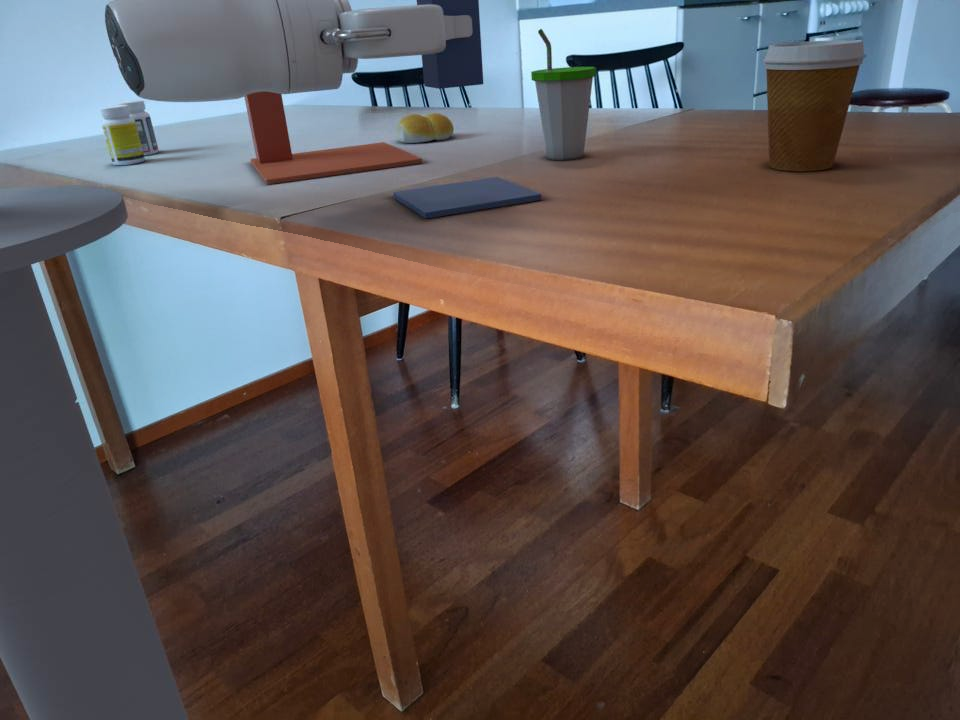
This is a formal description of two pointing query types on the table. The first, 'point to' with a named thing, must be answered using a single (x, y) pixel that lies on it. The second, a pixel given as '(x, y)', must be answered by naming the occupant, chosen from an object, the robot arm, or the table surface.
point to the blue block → (456, 50)
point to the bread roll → (424, 128)
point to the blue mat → (465, 197)
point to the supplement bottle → (121, 135)
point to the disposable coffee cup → (809, 100)
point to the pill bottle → (143, 126)
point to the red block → (268, 127)
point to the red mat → (334, 162)
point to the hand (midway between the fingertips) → (458, 26)
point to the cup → (563, 106)
